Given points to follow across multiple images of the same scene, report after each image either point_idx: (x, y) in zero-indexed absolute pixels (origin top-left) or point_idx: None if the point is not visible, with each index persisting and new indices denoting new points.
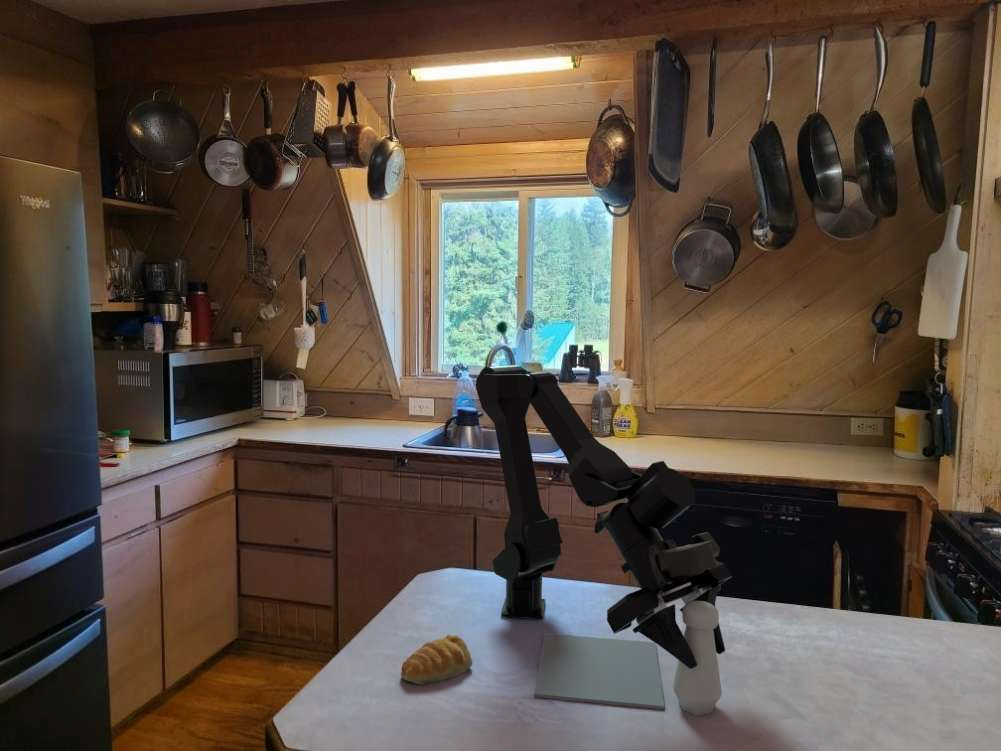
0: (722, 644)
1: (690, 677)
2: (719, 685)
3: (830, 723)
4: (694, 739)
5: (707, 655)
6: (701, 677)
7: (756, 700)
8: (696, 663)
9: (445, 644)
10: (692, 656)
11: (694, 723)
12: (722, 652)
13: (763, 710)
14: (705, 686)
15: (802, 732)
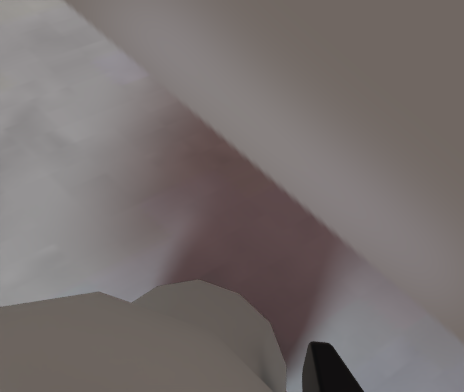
0: None
1: (280, 380)
2: (165, 288)
3: (9, 55)
4: (359, 272)
5: (213, 329)
6: (254, 331)
7: (26, 241)
8: (318, 345)
9: None
10: (335, 381)
11: (289, 317)
12: None
13: (67, 201)
14: (245, 310)
15: (101, 86)
